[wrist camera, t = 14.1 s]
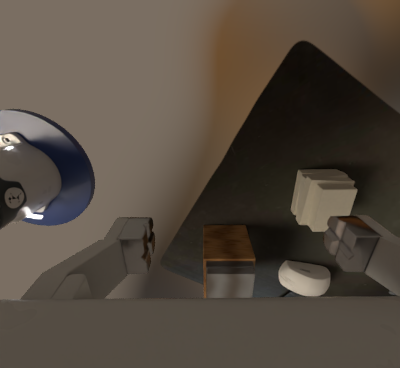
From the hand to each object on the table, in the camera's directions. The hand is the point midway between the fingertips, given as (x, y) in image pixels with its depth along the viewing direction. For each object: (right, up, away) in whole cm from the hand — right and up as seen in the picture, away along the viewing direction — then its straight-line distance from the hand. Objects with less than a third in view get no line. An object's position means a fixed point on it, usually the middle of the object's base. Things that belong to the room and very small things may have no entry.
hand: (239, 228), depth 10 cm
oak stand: (+4, -13, +43) cm, 45 cm away
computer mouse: (+25, -21, +46) cm, 57 cm away
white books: (+23, +1, +36) cm, 43 cm away
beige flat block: (+23, -2, +31) cm, 38 cm away
